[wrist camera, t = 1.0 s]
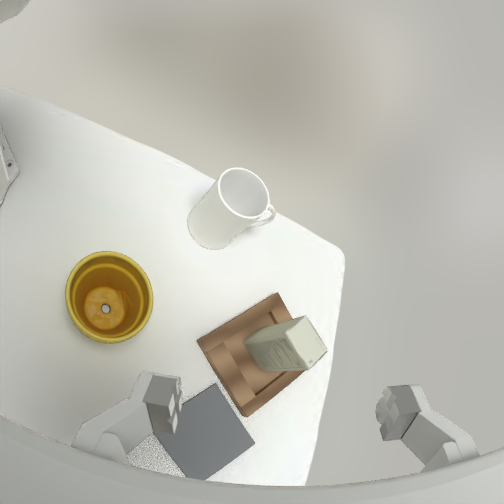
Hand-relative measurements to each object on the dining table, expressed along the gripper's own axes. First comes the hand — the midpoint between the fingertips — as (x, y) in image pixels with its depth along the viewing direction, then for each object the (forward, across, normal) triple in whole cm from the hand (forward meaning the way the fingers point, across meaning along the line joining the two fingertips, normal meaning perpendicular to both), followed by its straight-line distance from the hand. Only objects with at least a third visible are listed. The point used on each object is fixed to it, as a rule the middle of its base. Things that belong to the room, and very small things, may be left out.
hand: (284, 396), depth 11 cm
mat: (+18, +7, +31) cm, 37 cm away
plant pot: (+25, +22, +15) cm, 36 cm away
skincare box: (+31, 0, +24) cm, 39 cm away
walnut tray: (+31, 0, +24) cm, 39 cm away
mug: (+42, +8, +8) cm, 44 cm away
